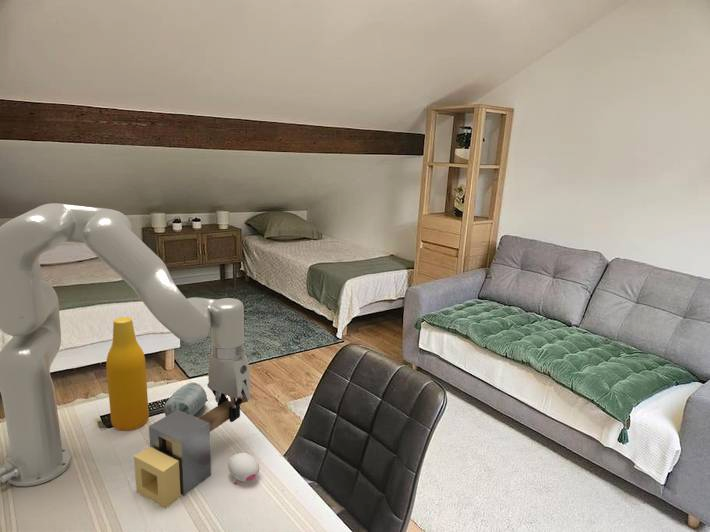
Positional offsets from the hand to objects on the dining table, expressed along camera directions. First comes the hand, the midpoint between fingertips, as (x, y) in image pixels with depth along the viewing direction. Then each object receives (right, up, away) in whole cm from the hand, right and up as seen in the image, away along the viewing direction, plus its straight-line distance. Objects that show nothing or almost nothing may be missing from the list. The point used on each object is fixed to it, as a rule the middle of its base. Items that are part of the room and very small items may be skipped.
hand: (229, 416), depth 122 cm
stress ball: (+6, -11, -10) cm, 16 cm away
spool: (-15, -4, +12) cm, 20 cm away
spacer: (-11, -12, -17) cm, 23 cm away
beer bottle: (-28, -4, +8) cm, 30 cm away
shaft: (-4, -1, -7) cm, 9 cm away
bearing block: (-8, -10, -11) cm, 17 cm away
